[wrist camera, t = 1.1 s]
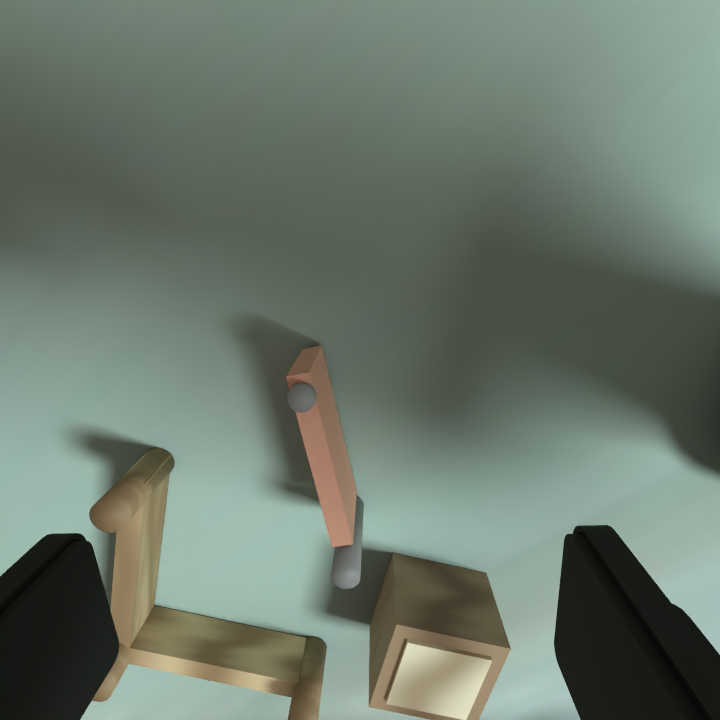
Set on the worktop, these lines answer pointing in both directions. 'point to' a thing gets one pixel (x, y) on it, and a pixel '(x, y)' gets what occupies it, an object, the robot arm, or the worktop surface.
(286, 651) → the frame
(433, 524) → the worktop surface
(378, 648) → the seat block
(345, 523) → the rail
